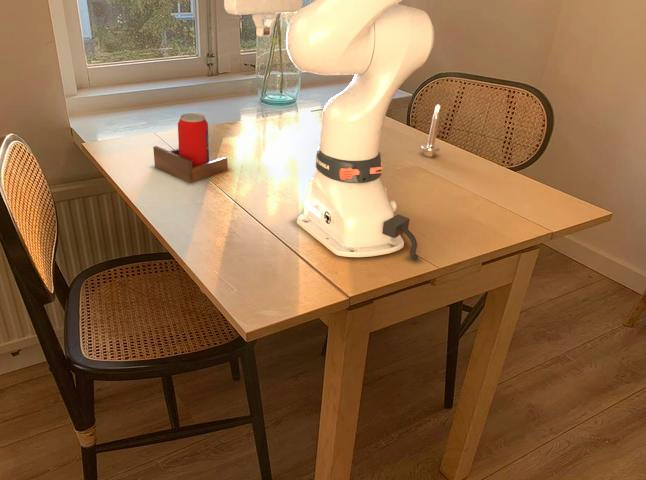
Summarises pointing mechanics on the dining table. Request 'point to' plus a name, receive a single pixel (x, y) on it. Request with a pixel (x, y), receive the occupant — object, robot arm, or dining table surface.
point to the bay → (186, 165)
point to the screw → (432, 135)
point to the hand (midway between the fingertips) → (263, 35)
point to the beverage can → (193, 138)
